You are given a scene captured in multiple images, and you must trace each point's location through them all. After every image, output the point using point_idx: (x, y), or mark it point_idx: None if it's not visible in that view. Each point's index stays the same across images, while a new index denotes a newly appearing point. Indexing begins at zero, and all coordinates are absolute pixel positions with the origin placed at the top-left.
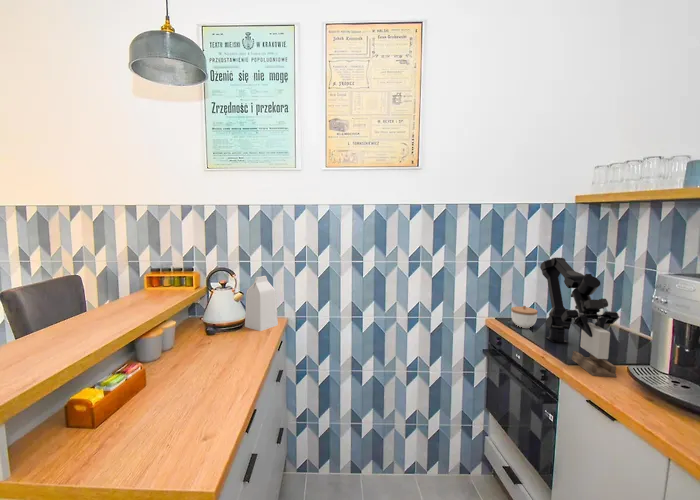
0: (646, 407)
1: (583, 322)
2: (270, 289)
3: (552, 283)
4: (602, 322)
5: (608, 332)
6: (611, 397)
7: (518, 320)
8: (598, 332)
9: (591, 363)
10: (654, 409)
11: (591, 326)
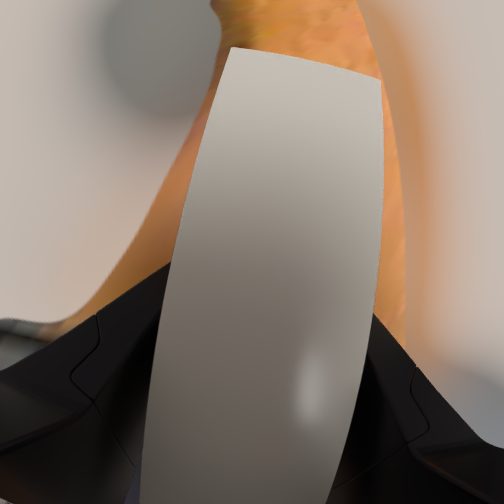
0: (292, 25)
1: (477, 436)
2: None
3: None
4: (33, 394)
5: (254, 52)
6: (358, 70)
7: None
8: (376, 114)
9: None
10: (278, 18)
11: (322, 393)
